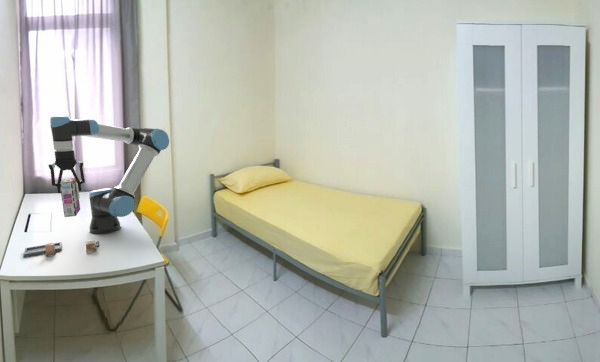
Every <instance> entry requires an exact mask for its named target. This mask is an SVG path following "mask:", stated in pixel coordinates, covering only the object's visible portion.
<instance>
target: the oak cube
mask: <svg viewBox="0 0 600 362" xmlns="http://www.w3.org/2000/svg"><path fill="white" fill-rule="evenodd" d="M95 242H96V240H89V241H88V240H87V241H85V250H86V253H89V252H90V253H91V252H96V251H97V247H96V243H95Z"/></svg>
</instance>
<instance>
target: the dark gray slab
mask: <svg viewBox="0 0 600 362" xmlns="http://www.w3.org/2000/svg"><path fill="white" fill-rule="evenodd" d="M99 241H100V240H97V241H96V240H95V243H96V248H97V247H98V248H99V247H100V242H99Z"/></svg>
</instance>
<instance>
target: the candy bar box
mask: <svg viewBox="0 0 600 362" xmlns="http://www.w3.org/2000/svg"><path fill="white" fill-rule="evenodd" d="M76 184H77V182H76V179H75V177H68V178H65V179H63V180H61V183H60V187H61V193H60V194H62V196H61V201H62V208H63V209H62V210H63V215H64V218H69V217H76V216H77V215H79V214H78V213H79V212H80V211H81V205H80V204H81V203H80V198H78V196H77V189H76Z"/></svg>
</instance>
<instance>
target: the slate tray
mask: <svg viewBox="0 0 600 362" xmlns="http://www.w3.org/2000/svg"><path fill="white" fill-rule="evenodd" d="M53 243H54V244H55V253H57V252H62V251H63V250H62V249H63V243H62V242H53ZM45 245H46V244H42V245H35V246H29V247H25V249H24V251H23V258H27V257H32V256H39V255H44V254H45V255H46V250H45Z"/></svg>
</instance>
